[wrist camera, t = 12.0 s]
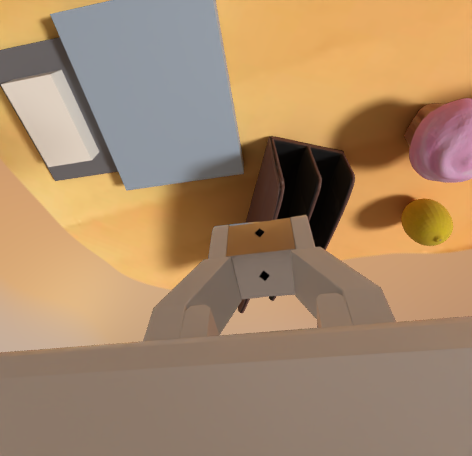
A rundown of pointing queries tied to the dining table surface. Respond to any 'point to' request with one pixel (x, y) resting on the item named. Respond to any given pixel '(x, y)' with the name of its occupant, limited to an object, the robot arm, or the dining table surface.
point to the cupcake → (442, 141)
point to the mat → (55, 58)
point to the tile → (52, 118)
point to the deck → (156, 87)
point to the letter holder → (302, 188)
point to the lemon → (427, 222)
